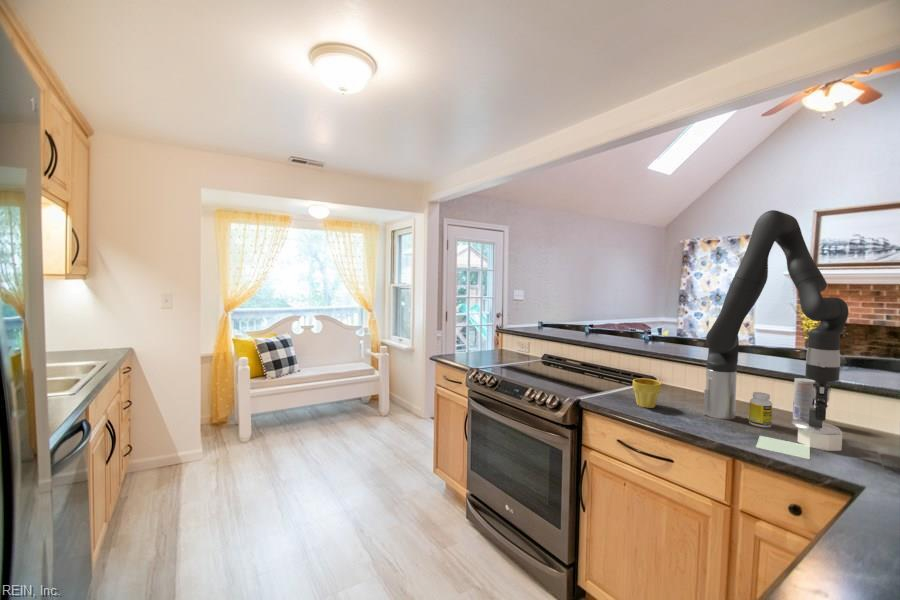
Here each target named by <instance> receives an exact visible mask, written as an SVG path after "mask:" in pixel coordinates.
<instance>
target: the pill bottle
mask: <svg viewBox="0 0 900 600" xmlns="http://www.w3.org/2000/svg"><path fill="white" fill-rule="evenodd" d="M770 399H771V396H770V394H769V393H766V392H761V391H753V392H752V398H750V400H749V407H748V408H749V413H748V414H749V415H748V424H749V425H752V426H755V427H761V428H771V427H772V420H773V417H772V415H773V414H772V413H773V403H772V401H770Z"/></svg>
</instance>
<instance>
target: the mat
mask: <svg viewBox="0 0 900 600" xmlns="http://www.w3.org/2000/svg"><path fill="white" fill-rule="evenodd" d="M758 437H759V438H758V440H757V443H756V445H755V448H757V449H762V450H766V451H770V452H775V453H780V454H784V455H788V456H792V457H797V458H802V459H805V460H810V457H811V453H810V452H811V447H809V446H807V445H804V444H802V443H799V442H798V443H797V442H793V441H787V440H784V439H779V438H775V437H773V438H772V437H769V436H768V437H767V436H763V435H759V436H758Z"/></svg>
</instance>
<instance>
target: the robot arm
mask: <svg viewBox="0 0 900 600" xmlns="http://www.w3.org/2000/svg"><path fill="white" fill-rule="evenodd" d="M753 226H754V227H753V230H752V231H751V235H750V238H749V241H748V243H747V247H746V250H745V252H744V255H743V257H742V259H741V262H740V264H739V266H738V268H737V270H736V272H735V274H734V276H733V279H732V280H731V282H730V285H729V288H728V289H727V293H726V295H725V298H724V301H723V303H722V307H721V310H720V312H719V314H718V316H717V317H716V320H715V321H714V323H713V325H712V326H711V328H710V329H709V331H707V334H706V336H705V341H706V345H707V347H708V352H707V353H708V354H707V360H706V372H705V389H704V392H703V393H704V394H703V395H704V397H703V415H704V416H707V417H711V418H715V419H720V420H733V419H735V418H736V404H737V403H736V401H737V400H736V398H737V396H736V395H737V368H738V362H739V346H740V345H739V344H740V342H739V340H740V338H739V332H740V329H741V326H742V325H743V322H744V320H745V318H746V317H747V316H748V314H749V313H750V311H751V310H752V308H753V307H754V306H755V305H756V303H757V301H758V300H759V297H760V296H761V293H762V292H763V290H764V288H765V285H766V284H767V281H768V277H769V276H768V275H769V256H770V253H771V251H772V250H771V249H772V248H773V245H774V243H776V244H777V245H778V246H779V248H780V249H781V250H782V251H783V254H784V256H785V259H786V265H787V266H786V267H787V272H788V275H789V277H790V278H791V281H792V282H793V284H794V286H795V288H796V290H797V291H798V299H799V303H800V309H801V311H802V313H803V314H804V316H805V317H806V318H808V319H809V320H811V321H813V322H814V321H816V322H820V323H819V325H818V326H817V327H815V328H811V329H810V330H809V331H808V337H807V351H806V356H805V377H806V379H810V380H814V381H815V383H813V391H814V398H813V399H814V400H815V404H814V408H816V415H815V418H816V419H817V420H822V422H824V421H826V418H827V417H826V415H827V409H828V406H829V405H828V402H830V394H831V391H832V390H831V385H829V384H828V383H829V382H838V381H840V373H841V372H840V370H841V369H840V368H841V354H840V353H841V351H840V350H841V349H840V348H841V345H840V344H841V343H840V342H841V335H842V332H843V330H844V328H845V325H846V322H847V320H848V317H849V306H848V304H847V302H846V301H845V300H844V299H843V298H840V297H837V296H836V297H835V296H834V297H833V296H832V297H827V296H825V297H823V295H822V292H823V291H825V290H826V288H828V283H827V281H826V278H825V277H824V276H823V274H822V272H821V271H820V269H819V267H818V266H817V264H816V262H815V260H814V259H813V257H812V255H811V253H810V251H809V249H808V246H807V245H806V244H807V243H806V241H805V239H804V237H803V232H802V230H801V227H800V225H799V221H798V219H796V218H795V216H793V215H790V214H788V213H786V212H783V211H779V210H773V209H772V210H767V211H766V212H763V213H762V214H761V215H760V216H759V217H758V218H757V220H756V222H755V224H754V225H753Z"/></svg>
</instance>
